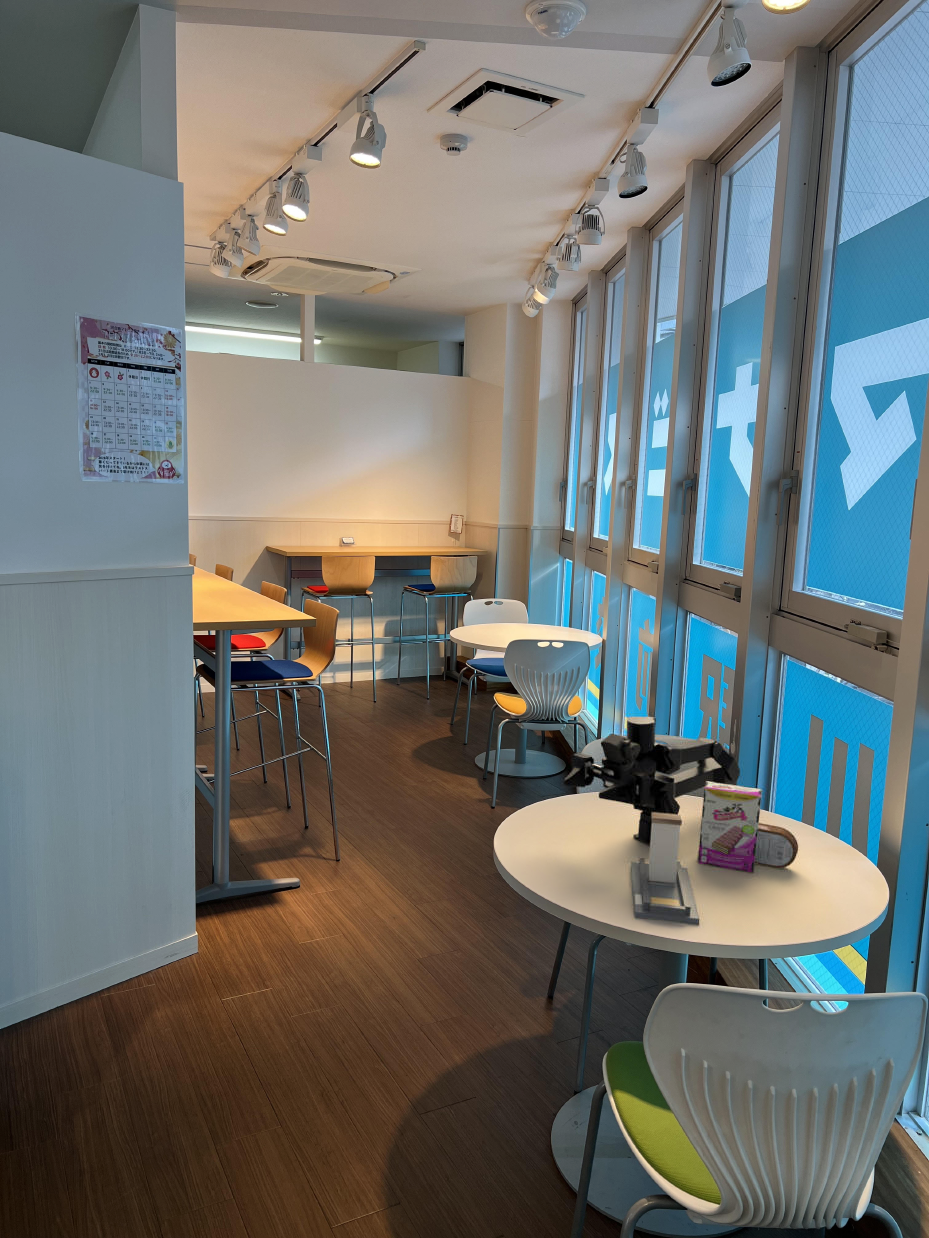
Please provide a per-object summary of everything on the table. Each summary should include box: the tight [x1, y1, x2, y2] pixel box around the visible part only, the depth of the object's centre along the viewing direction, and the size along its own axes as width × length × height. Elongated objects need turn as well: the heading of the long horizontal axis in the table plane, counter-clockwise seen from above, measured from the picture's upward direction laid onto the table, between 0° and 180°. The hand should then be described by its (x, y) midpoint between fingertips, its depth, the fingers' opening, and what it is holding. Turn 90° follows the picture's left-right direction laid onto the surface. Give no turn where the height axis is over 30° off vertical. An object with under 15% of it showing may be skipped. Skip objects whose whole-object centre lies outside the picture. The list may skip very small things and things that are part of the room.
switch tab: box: [648, 812, 683, 883], centre depth 162 cm, size 3×5×12 cm, turn 81°
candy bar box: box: [697, 781, 763, 874], centre depth 174 cm, size 11×5×16 cm, turn 70°
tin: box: [755, 822, 799, 869], centre depth 176 cm, size 15×3×8 cm, turn 65°
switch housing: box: [630, 857, 700, 925], centre depth 160 cm, size 22×11×2 cm, turn 171°
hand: (581, 789), depth 168 cm, fingers open, 9 cm apart
